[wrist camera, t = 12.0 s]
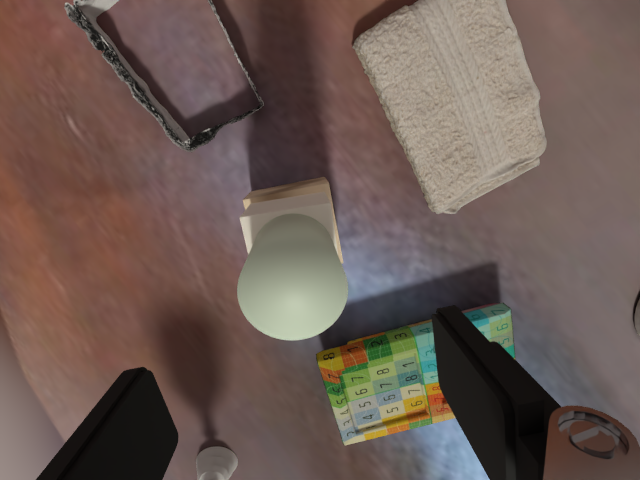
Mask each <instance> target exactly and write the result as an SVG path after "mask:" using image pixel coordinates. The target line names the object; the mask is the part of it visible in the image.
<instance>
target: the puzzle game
mask: <svg viewBox="0 0 640 480" xmlns="http://www.w3.org/2000/svg"><path fill="white" fill-rule="evenodd" d="M461 312H462V313H463V314H464V315H465V316H466V317H467V318H468V319H469V320H470V321H471V322H472V323H473V324H474V325H475V326H476V328H477V329H478V330H479V331H480V332H481V333H482V334H483V335H484V336H485V337H486V338H487V339H488V340H489V341H490V342H492V341H495V342H498V343H499V344H500V345H501V346H502V347H503V348H504V349H505V350H506V351H507V352H508V353H509V354H510V355H511V356H512V357H513V358H514V359H515V348H514V337H513V326H512V315H511V308H509V307H508V306H507V305H505V304H504V303H491V304H487V305H483V306H479V307H475V308H471V309H468V310H464V311H461ZM316 359H317V363H318V366H319V370H320V373H321V376H322V379H323V382H324V385H325V388H326V391H327V394H328V398H329V401H330V404H331V407H332V410H333V413H334V416H335V419H336V422H337V426H338V429H339V432H340V435H341V438H342V441H343V444H344V445H349V444H353V443H357V442H361V441H365V440H369V439H373V438H377V437H381V436H385V435H389V434H393V433H397V432H401V431H405V430H409V429H413V428H417V427H421V426H425V425H429V424H433V423H437V422H441V421H445V420H449V419H453V418H456V417H455V416H454V414H453V412H452V410H451V408H450V407H449V405H448V403H447V401H446V399H445V397H444V396H443V394H442V392H441V389H440V386H439V382H438V373H437V364H436V354H435V345H434V335H433V326H432V319H430V320H427V321H423V322H419V323H415V324H412V325H408V326H404V327H400V328H397V329H393V330H389V331H385V332H382V333H378V334H374V335H370V336H367V337H363V338H359V339H355V340H352V341H348V343H347V345H343V346H340V347H336V348H332V349H327V350H323V351H321V352H319V353H317V354H316Z"/></svg>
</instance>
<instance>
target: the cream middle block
mask: <svg viewBox="0 0 640 480" xmlns="http://www.w3.org/2000/svg"><path fill="white" fill-rule="evenodd" d="M285 214H303V215H306V216H309V217H312V218H314V219H315V220H317V221H318V222H320V223H321V224H322V225H323V226H324V227H325V228H326V229H327V231H328V232H329V234H330V236H331V238H332V241H333V243H334V246H335V249H336V251H337V254H338V250H337V243H336V236H335V229H334V222H333V216H332V209H331V202H330V200H329V199H328V197H327V195H326V193H325V192H318V193H312V194H306V195H300V196H294V197H288V198H282V199H275V200H269V201H263V202H257V203H251V204H250V205H249V206H248V208H247V209H246V210H245V211H244V213H243V214H242V215H241V216H240V221H241V225H242V230H243V234H244V238H245V242H246V247H247V251H248V255H249V253H250V250H251V248H252V245H253V243H254V241H255V238H256V236H257V234H258V233H259V231H260V230H261V228H262V227H263V226H264V225H265V224H266V223H267V222H269V221H270V220H272V219H274V218H275V217H278V216H281V215H285Z"/></svg>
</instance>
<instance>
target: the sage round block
mask: <svg viewBox="0 0 640 480" xmlns="http://www.w3.org/2000/svg"><path fill="white" fill-rule="evenodd" d="M237 294H238V301H239V304H240V307H241V310H242V312H243V314H244V315H245V317H246V318H247V320H248V321H249V322H250V323H251V324H252V325H253V326H254V327H255V328H257V329H258V330H259V331H261V332H263V333H264V334H266V335H269V336H271V337H274V338H277V339H282V340H301V339H306V338H310V337H313V336H316V335H318V334H320V333H322V332H323V331H325V330H326V329H328V328H329V327H330V326H331V325H332V324H334V322H335V321H336V320H337V319H338V318H339V316H340V315H341V313H342V311H343V309H344V307H345V304H346V301H347V296H348V283H347V278H346V275H345V272H344V269H343V267H342V264H341V262H340V259H339V256H338V254H337V251H336V249H335V246H334V243H333V241H332V238H331V236H330V234H329V232H328V231H327V229H326V228H325V227H324V226H323V225H322V224H321V223H320V222H318V221H317V220H315V219H314V218H312V217H309V216H306V215H303V214H285V215H281V216H278V217H275V218H274V219H272V220H270V221H269V222H267V223H266V224H265V225H264V226H263V227H262V228H261V230H260V231H259V233H258V234H257V236H256V238H255V241H254V243H253V245H252V248H251V250H250V253H249V255H248V257H247V260H246V262H245V264H244V267H243V269H242V271H241V274H240V276H239V281H238V287H237Z"/></svg>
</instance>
